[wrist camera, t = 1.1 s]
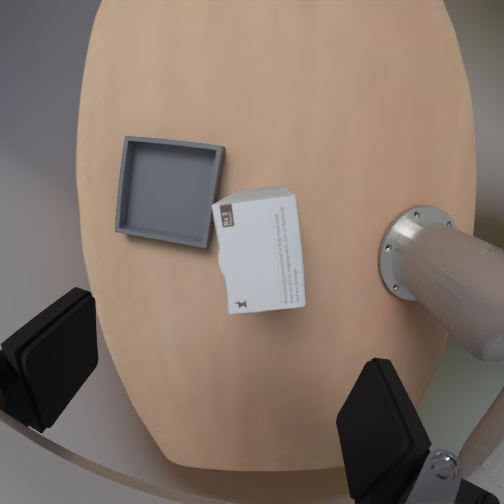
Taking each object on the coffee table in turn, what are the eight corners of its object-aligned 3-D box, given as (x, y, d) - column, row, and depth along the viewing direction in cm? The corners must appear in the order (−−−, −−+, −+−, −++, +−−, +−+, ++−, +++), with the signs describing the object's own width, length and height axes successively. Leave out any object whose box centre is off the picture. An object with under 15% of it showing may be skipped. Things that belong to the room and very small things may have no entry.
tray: (225, 147, 32) (222, 146, 29) (209, 241, 35) (206, 248, 32) (134, 137, 32) (125, 136, 29) (124, 226, 35) (114, 231, 32)
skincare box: (291, 252, 35) (311, 313, 21) (240, 258, 36) (228, 322, 21) (284, 181, 33) (302, 194, 19) (230, 187, 33) (208, 205, 19)
